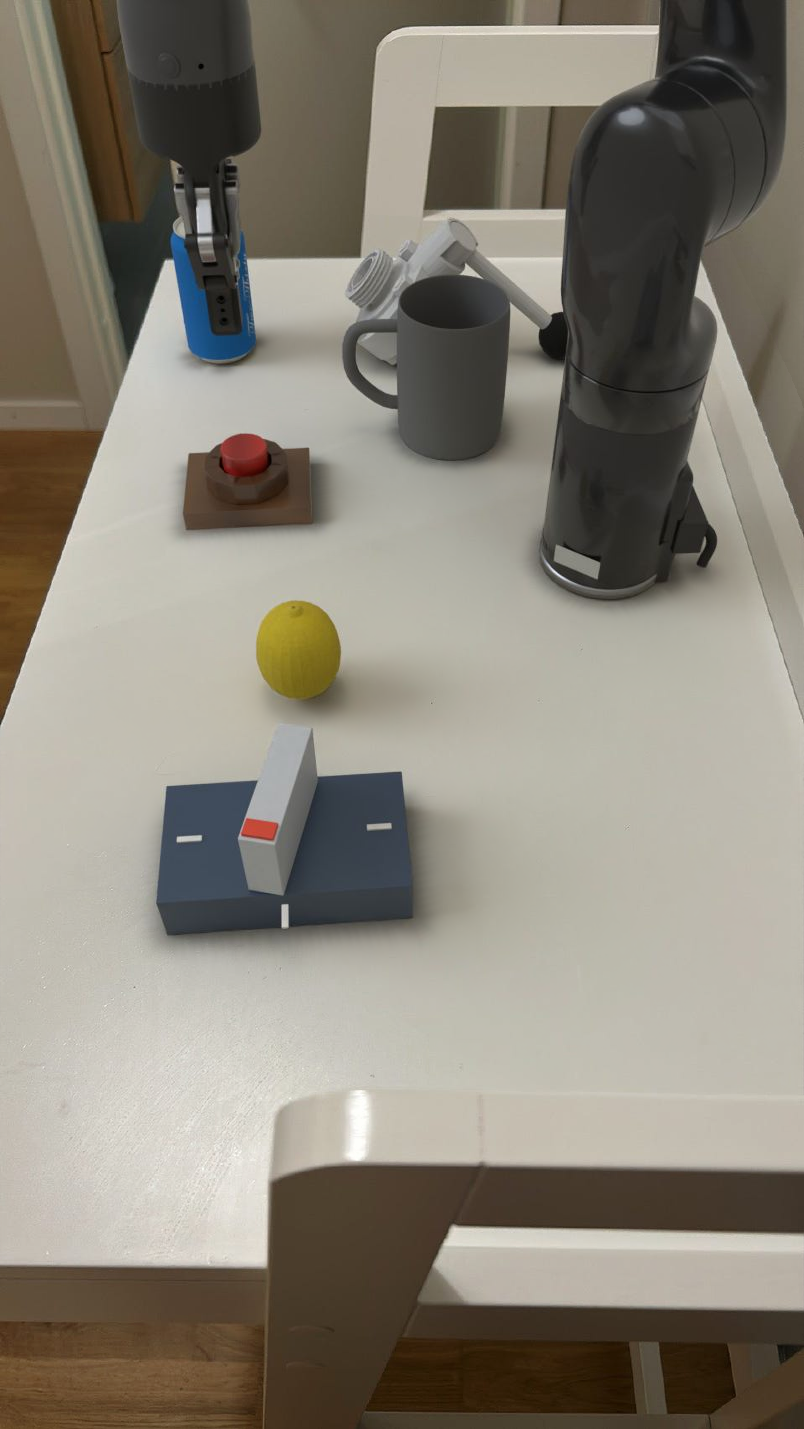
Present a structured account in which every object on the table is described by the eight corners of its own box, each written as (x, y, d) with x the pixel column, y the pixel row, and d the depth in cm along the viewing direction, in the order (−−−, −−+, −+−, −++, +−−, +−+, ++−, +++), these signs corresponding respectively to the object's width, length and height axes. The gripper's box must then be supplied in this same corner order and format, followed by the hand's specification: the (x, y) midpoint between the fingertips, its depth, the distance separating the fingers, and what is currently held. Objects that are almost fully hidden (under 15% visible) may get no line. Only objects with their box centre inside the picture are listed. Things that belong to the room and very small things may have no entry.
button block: (310, 464, 88) (307, 428, 86) (312, 524, 83) (309, 488, 81) (191, 470, 88) (184, 434, 85) (186, 530, 83) (178, 494, 80)
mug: (498, 402, 95) (508, 273, 85) (504, 462, 89) (515, 330, 79) (348, 402, 95) (342, 273, 86) (343, 462, 89) (336, 331, 80)
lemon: (252, 677, 72) (238, 591, 66) (327, 654, 74) (319, 568, 68) (277, 733, 69) (265, 648, 63) (355, 708, 71) (350, 622, 64)
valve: (480, 462, 104) (594, 368, 95) (321, 342, 95) (430, 224, 85) (483, 397, 111) (591, 303, 101) (334, 279, 101) (437, 162, 91)
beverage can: (245, 371, 98) (229, 244, 89) (180, 364, 99) (157, 237, 90) (265, 336, 102) (251, 211, 93) (202, 329, 103) (182, 205, 94)
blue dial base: (399, 778, 67) (399, 742, 64) (415, 951, 59) (416, 918, 56) (178, 792, 66) (168, 756, 63) (164, 968, 58) (152, 936, 55)
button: (268, 450, 85) (266, 432, 83) (268, 477, 82) (266, 458, 81) (224, 452, 84) (221, 434, 83) (222, 479, 82) (219, 461, 81)
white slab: (285, 775, 62) (277, 718, 58) (318, 780, 62) (312, 723, 58) (248, 890, 57) (236, 836, 53) (283, 896, 57) (274, 842, 53)
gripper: (252, 95, 57) (280, 378, 71) (255, 18, 66) (280, 283, 79) (113, 99, 57) (168, 383, 70) (135, 21, 66) (180, 286, 79)
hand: (227, 329), depth 75 cm, fingers closed
